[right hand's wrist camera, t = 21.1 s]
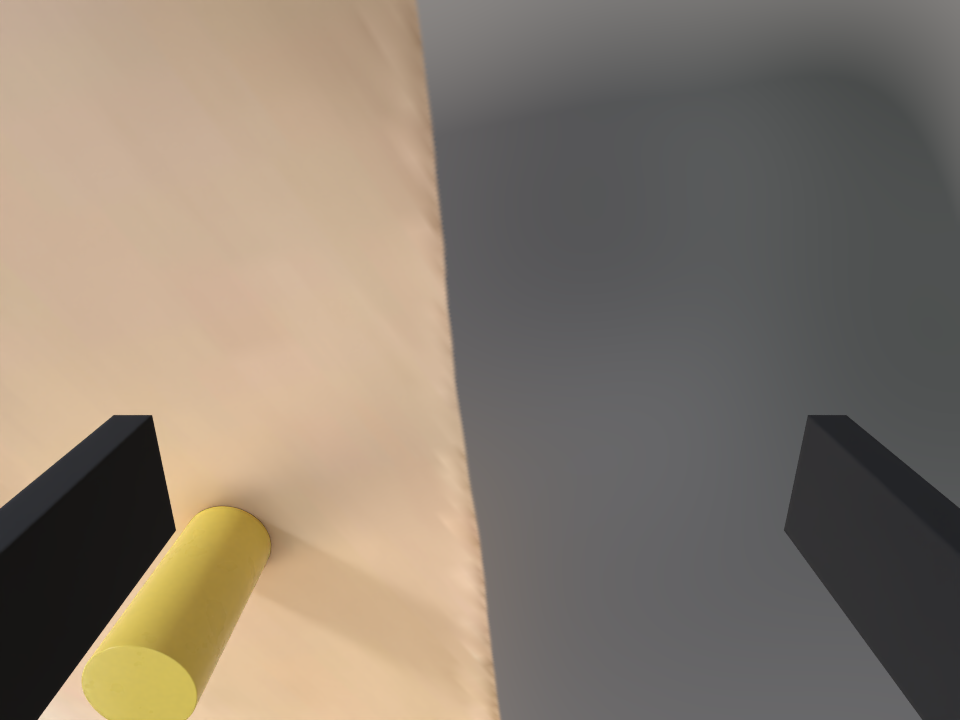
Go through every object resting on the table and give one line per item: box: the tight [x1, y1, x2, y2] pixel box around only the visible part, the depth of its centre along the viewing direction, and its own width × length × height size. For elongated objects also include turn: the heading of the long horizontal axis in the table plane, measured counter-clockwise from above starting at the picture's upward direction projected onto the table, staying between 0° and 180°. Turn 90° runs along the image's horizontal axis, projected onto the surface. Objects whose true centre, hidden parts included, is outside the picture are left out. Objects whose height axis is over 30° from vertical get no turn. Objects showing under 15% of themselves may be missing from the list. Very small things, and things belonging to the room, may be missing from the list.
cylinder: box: [82, 506, 271, 720], centre depth 40 cm, size 6×6×13 cm
